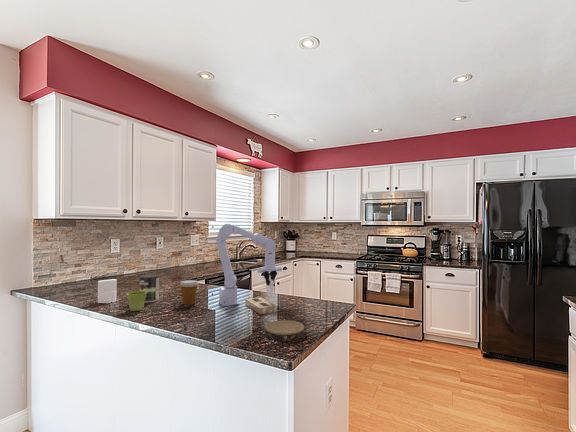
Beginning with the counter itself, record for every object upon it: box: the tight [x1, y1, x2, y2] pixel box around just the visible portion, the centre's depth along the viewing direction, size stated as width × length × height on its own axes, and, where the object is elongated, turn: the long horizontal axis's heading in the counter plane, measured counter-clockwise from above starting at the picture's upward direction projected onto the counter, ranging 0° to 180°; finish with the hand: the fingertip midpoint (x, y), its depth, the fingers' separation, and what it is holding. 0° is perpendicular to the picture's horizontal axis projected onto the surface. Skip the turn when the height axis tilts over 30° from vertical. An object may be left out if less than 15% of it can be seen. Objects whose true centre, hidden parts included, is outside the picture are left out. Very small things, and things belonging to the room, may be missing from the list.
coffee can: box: [138, 273, 160, 304], centre depth 171 cm, size 10×10×14 cm
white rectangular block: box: [97, 278, 118, 304], centre depth 168 cm, size 9×9×12 cm
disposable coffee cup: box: [179, 279, 199, 305], centre depth 166 cm, size 10×10×12 cm
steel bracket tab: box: [265, 277, 274, 294], centre depth 168 cm, size 2×5×7 cm, turn 29°
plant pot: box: [126, 290, 147, 312], centre depth 152 cm, size 9×9×9 cm
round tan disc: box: [264, 319, 305, 342], centre depth 120 cm, size 16×16×3 cm
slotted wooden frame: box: [244, 297, 278, 315], centre depth 156 cm, size 9×20×3 cm, turn 29°
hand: (269, 284), depth 168 cm, fingers closed on steel bracket tab, 2 cm apart
